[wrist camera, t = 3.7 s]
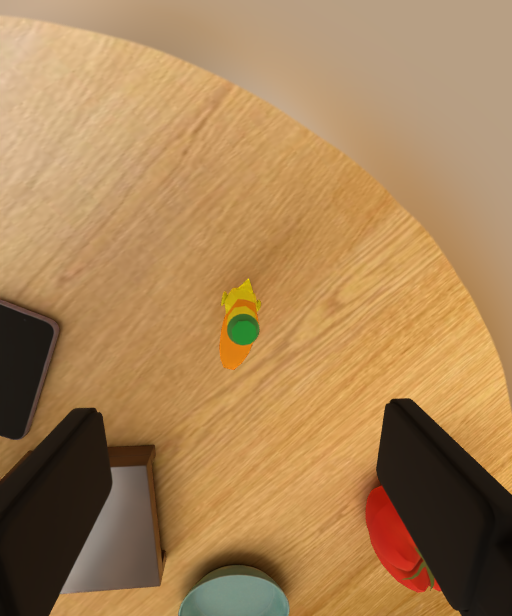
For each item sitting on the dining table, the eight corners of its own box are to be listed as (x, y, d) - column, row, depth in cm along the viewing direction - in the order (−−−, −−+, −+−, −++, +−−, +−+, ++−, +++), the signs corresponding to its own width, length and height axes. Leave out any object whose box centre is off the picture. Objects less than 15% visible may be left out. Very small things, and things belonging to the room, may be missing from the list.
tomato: (388, 451, 35) (436, 518, 27) (445, 488, 37) (506, 562, 29) (334, 507, 37) (364, 587, 28) (392, 540, 39) (436, 623, 30)
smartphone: (-50, 421, 29) (-22, 295, 26) (-39, 414, 30) (-12, 292, 27) (22, 442, 30) (58, 325, 27) (30, 435, 31) (65, 321, 28)
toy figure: (246, 336, 30) (253, 399, 18) (214, 328, 29) (199, 388, 18) (263, 276, 28) (281, 302, 17) (229, 267, 28) (224, 288, 16)
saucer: (167, 567, 37) (162, 592, 35) (274, 540, 37) (276, 563, 35) (198, 637, 41) (196, 663, 38) (295, 612, 41) (298, 637, 39)
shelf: (56, 566, 36) (-20, 705, 25) (28, 450, 31) (-77, 559, 21) (166, 559, 37) (137, 689, 26) (154, 444, 32) (114, 546, 22)
